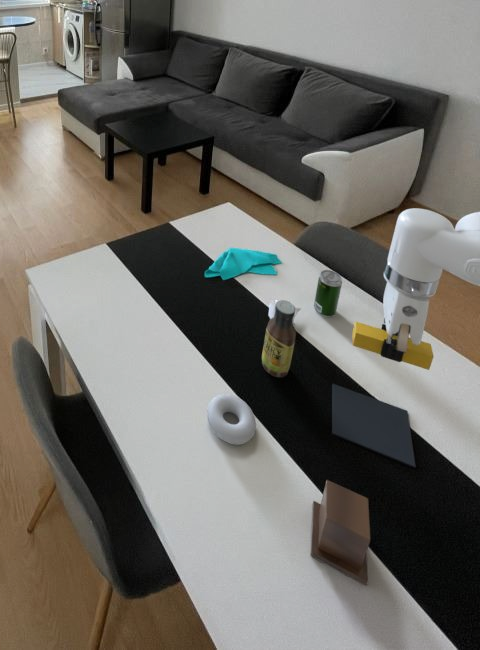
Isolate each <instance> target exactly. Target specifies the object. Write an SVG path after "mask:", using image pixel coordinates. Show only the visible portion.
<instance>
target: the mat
mask: <svg viewBox="0 0 480 650" xmlns="http://www.w3.org/2000/svg"><path fill="white" fill-rule="evenodd" d="M331 385H332V386H331V435H333V436H335V437H338V438H340V439H342V440H344V441H348V442H349V443H353V444H354V445H357V446H360V447H361V448H365V449H367V450H369V451H372V452H373V453H377V454H379V455H381V456H384V457H386V458H388V459H391V460H394V461H396V462H398V463H401V464H402V465H403V464H404V465H406V466H408V467H410V468H413V469H416V467H417V466H416V465H417V464H416V459H415V452H414V446H413V439H412V432H411V431H412V430H411V425H410V419H409V413H408V410H407V409H404V408H401V407H398V406H395V405H393V404H390V403H388V402H385V401H382V400H379V399H376V398H373V397H370V396H368V395H365V394H363V393H360V392H357V391H354V390H352V389H349V388H346V387H343V386H341V385H337V384H336V383H331Z"/></svg>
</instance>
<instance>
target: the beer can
mask: <svg viewBox="0 0 480 650" xmlns="http://www.w3.org/2000/svg"><path fill="white" fill-rule="evenodd" d="M342 285H343V279H342V276H341V275H340V274H339V273H338V272H337V271H334V270H332V269H331V270H330V269H323V270H321V271H320V274H318V280H317V286H316V291H315V295H314V303H313V307H314V310H315V312H316V313H317V314H318V315H320V316H322V317H324V318H333V317H334V316H335V315H336V314H337V310H338V304H339V300H340V295H341V290H342Z"/></svg>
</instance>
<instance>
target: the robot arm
mask: <svg viewBox="0 0 480 650" xmlns="http://www.w3.org/2000/svg"><path fill="white" fill-rule="evenodd" d="M393 231H394V232H393V235H392V240H391V243H390V246H389V252H388V255H387V259H386V263H385V267H384V269H383V270H384V271H383V278H384V280H385V281H386V285H385V288H384V293H383V300H382V306H383V316H384V318H383V323H382V324H381V327H380V329H382V330H386V331H387V333H388V335H387V339H384V342H383V346H382V349H381V354H380V356H381V357H382V358H385V359H388V360H391V361H395V362H398V363H402V358H403V355H404V353H406V348H407V341H408V337H409V338H411V341H412V343H413V344H416V345H419V344H420V343H421V341H422V340H423V335H424V331H425V326H426V323H427V317H428V313H429V305H430V298H431V297H433V296H435V294H436V293H437V289H438V286H439V283H440V281H441V278H442V274H443V270H444V271H446V272H448V273H450V274H451V275H454V276H455V277H458V278H459V279H460V280H463V281H465V282H468V283H470V284H472V285H474V286H477V287H480V211H476V212H472V213H468V214H466V215H464V216H462V217H461V218H460V219H459V220H458V221H457V222H456V224H455V226H454V225H453V223H452V222H451V221H450V220H449V219H448V218H447V217H445V216H443V215H442V214H440V213H438V212H435V211H433V210H430V209H426V208H419V207H418V208H417V207H415V208H414V207H413V208H407V209H405V210H403V211H402V212H400V213H399V214H398V217H397V220H396V223H395V228H394V230H393ZM393 335H395V336H398V338H397V339H393V338H392V337H393Z"/></svg>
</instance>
